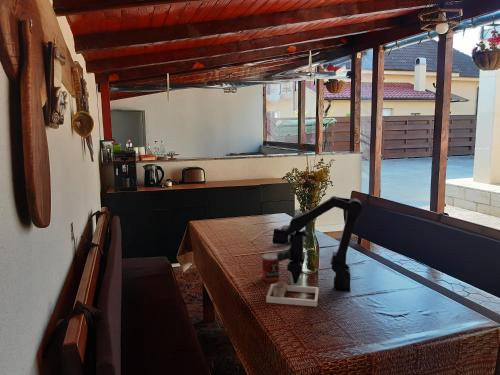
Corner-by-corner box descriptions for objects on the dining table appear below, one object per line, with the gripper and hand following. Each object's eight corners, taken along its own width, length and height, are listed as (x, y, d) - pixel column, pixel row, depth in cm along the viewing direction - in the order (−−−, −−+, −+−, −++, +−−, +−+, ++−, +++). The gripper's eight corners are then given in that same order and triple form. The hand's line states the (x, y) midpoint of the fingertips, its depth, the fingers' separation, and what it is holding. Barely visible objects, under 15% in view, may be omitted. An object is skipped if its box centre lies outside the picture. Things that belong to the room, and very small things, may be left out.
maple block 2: (283, 297, 169) (283, 288, 169) (283, 302, 165) (283, 292, 165) (273, 297, 169) (273, 288, 169) (273, 301, 165) (273, 292, 165)
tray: (318, 292, 174) (318, 287, 174) (316, 306, 161) (317, 301, 160) (271, 288, 178) (271, 283, 178) (266, 302, 165) (266, 297, 164)
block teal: (301, 283, 184) (301, 274, 183) (300, 287, 180) (300, 278, 179) (291, 283, 185) (291, 273, 184) (290, 286, 180) (290, 277, 180)
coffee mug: (295, 241, 249) (295, 225, 248) (295, 245, 241) (295, 228, 239) (276, 241, 250) (276, 225, 249) (275, 245, 242) (275, 228, 240)
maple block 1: (286, 292, 175) (286, 283, 174) (284, 295, 171) (284, 286, 170) (277, 291, 176) (277, 282, 175) (274, 294, 172) (274, 285, 172)
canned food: (265, 283, 184) (265, 259, 183) (260, 276, 192) (260, 254, 190) (281, 281, 186) (281, 257, 185) (275, 275, 194) (276, 252, 192)
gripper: (281, 238, 190) (280, 270, 192) (275, 250, 172) (275, 286, 174) (305, 239, 188) (304, 272, 190) (302, 252, 170) (301, 288, 172)
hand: (296, 279), depth 182 cm, fingers open, 9 cm apart
